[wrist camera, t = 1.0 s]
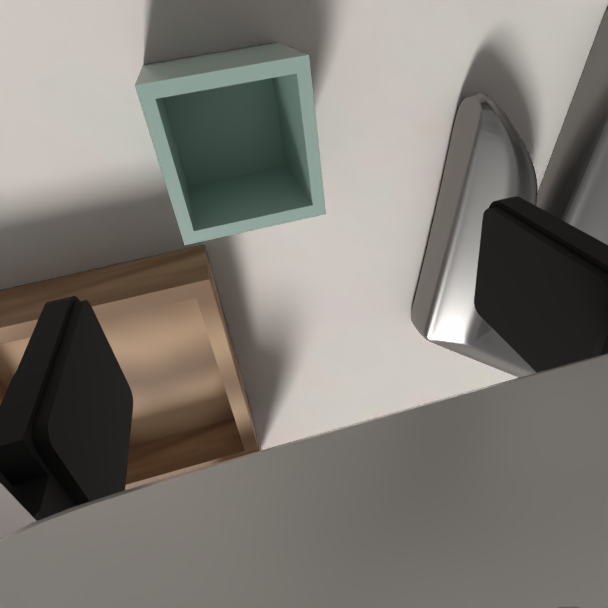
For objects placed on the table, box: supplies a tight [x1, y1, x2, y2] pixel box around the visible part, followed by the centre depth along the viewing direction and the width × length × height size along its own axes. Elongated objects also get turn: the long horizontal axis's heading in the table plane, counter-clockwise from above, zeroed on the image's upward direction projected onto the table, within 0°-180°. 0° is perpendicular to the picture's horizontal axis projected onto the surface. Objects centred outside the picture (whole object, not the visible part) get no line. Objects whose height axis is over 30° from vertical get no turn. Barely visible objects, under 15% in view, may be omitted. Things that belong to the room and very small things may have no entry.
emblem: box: [411, 8, 608, 378], centre depth 34 cm, size 28×5×28 cm
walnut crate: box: [0, 245, 259, 490], centre depth 31 cm, size 16×16×4 cm
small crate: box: [135, 42, 326, 245], centre depth 23 cm, size 7×7×7 cm
